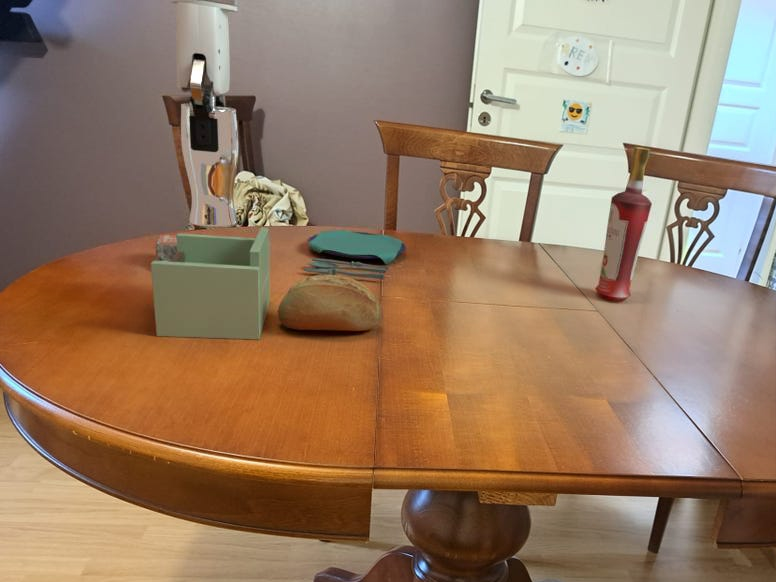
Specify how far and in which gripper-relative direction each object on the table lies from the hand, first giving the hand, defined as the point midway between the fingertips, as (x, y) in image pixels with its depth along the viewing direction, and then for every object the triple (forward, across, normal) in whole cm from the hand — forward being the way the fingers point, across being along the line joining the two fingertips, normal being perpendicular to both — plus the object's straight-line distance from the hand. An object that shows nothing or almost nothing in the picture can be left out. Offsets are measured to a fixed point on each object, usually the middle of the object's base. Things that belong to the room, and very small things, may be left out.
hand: (210, 146), depth 87 cm
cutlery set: (+24, -36, +20) cm, 48 cm away
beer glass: (+10, 0, 0) cm, 10 cm away
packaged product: (+24, -26, -5) cm, 36 cm away
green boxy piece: (+24, 0, 0) cm, 24 cm away
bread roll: (+24, +3, +16) cm, 29 cm away
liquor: (+24, -19, +69) cm, 76 cm away
